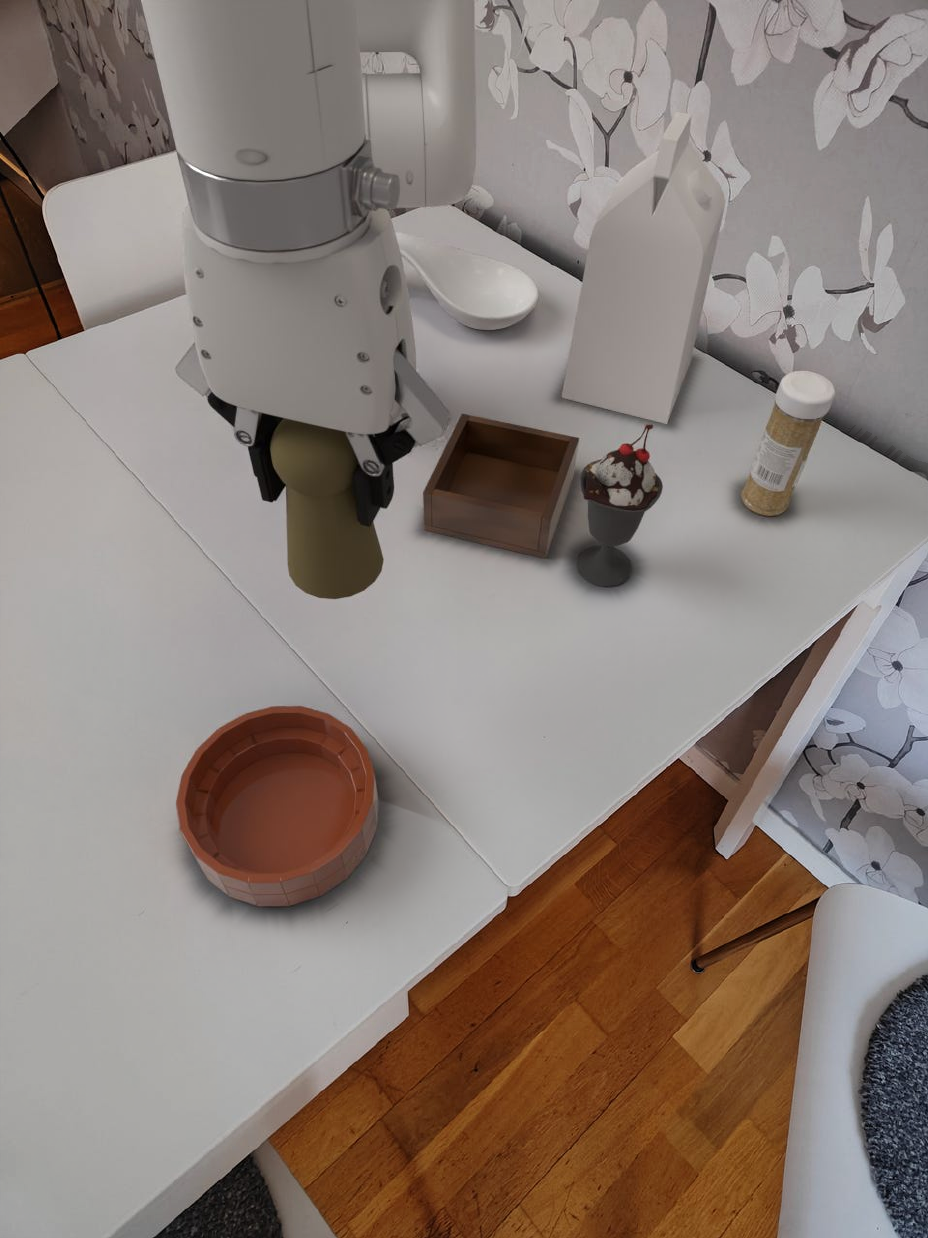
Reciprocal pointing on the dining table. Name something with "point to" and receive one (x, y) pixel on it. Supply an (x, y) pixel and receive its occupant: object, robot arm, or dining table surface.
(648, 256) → the milk
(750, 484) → the sprinkles bottle
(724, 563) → the dining table surface
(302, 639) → the dining table surface
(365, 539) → the olive brown knobbed cylinder
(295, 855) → the bowl
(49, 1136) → the dining table surface
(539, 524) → the holder
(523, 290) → the spoon rest
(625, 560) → the sundae
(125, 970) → the dining table surface
